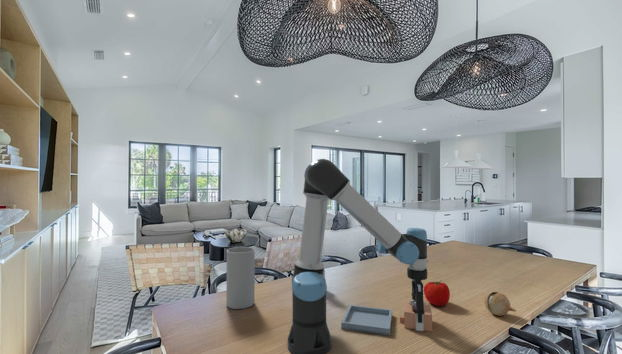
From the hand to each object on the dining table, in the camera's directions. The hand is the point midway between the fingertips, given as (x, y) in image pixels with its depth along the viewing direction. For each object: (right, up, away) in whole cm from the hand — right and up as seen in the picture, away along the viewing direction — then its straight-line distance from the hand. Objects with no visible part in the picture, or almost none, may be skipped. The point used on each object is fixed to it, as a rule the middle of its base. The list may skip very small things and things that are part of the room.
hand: (417, 323), depth 123 cm
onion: (+37, -1, +7) cm, 38 cm away
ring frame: (0, 0, 0) cm, 0 cm away
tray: (-19, 0, +2) cm, 19 cm away
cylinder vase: (-75, -1, +20) cm, 77 cm away
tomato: (+16, -1, +20) cm, 26 cm away
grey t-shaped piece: (0, 0, 0) cm, 0 cm away
